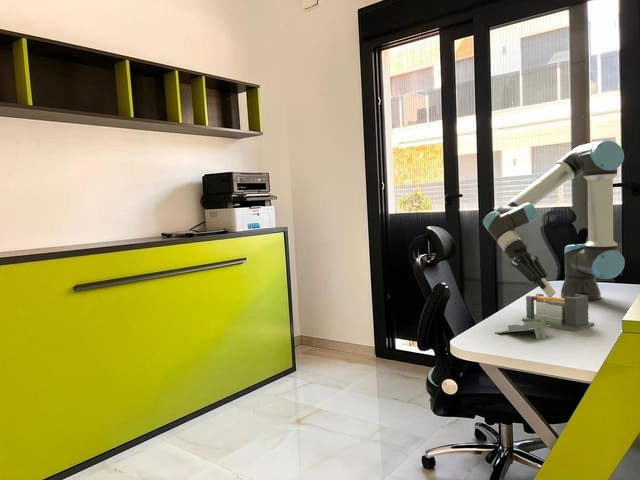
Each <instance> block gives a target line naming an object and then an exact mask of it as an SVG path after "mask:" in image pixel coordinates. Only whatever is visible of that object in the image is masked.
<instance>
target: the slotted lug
mask: <svg viewBox="0 0 640 480" xmlns="http://www.w3.org/2000/svg"><path fill="white" fill-rule="evenodd" d="M564 306H565V325H567V326H572V327H579V326H583V325H586V324H588V322H589V300H588V296H586V295H579V294H575V295H574V297H568V296H566V297H564Z"/></svg>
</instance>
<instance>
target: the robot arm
mask: <svg viewBox="0 0 640 480" xmlns="http://www.w3.org/2000/svg"><path fill="white" fill-rule="evenodd" d="M624 160H625V153H624V150H623V148H622V147H621V146H620V145H619V144H618V143H617V142H615V141H613V140H609V139H608V140H607V139H606V140H598V141H594V142H590V143H589V142H588V143H583V144H581V145H578V146H576V147H575V148H573V149H572V150H571V151H570V152H568V153H566V154H565V155H564V156H563V157H561V158H560V159H558V160H557V162H555V166H554V167H552V168H551V169H550V170H549V171H547V172H546V173H545V174H543V175H542V176H541V177H540V178H538V179H537V180H535V181H533V182H532V184H530V185H529V186H528V187H526V188H525V189H523V190H522V191H521V192H520V193H519V194H517V195H516V196H515V197H513V198H512V199H511V200H510V201H508V202H507V203H505V204H504V205H500V206H498V207H496V208H495V209H494V211H491V212H489V213H488V214H487V215H485V217H484V218H483V220H482V225H483V226H484V228H485V229H486V230H487V232H488V233H489V234H490V235H491V236H492V238H493V239H494V240H495V241H496V243H497V244H498V245H499V247H500V248H501V249H502V250H503V252H504V253H505V255H506V256H507V257H508V258H509V259H510V260H512V261H511V262H510V265H512V266H513V267H515V268H516V269H517V270H518V271H519V272H520V273H521V274H522V275H523V276H524V277H525V278H526V279H527V281H529V282H531V283H532V284H533V285H536V284H537V285H538V287H539V288H540V289H541V290H542V291H543V293H544V294H545V295H546V297H554V295H555V294H556V293H557V292H556V291H555V289H554V288H553V286H552V285H551V284H550V283H549V281H548V280H547V277H548V274H547V272H546V270H545V268H544V267H543V265H542V263H541V262H540V259H539V257H538V256H537V255H535V256H533V255H532V254H531V253H530V252H528V251H527V249H528V247H527V245H526V243H524V241H523V240H521V238H520V236H519V235H518V234H517V233H516V232H515V230H517V229H519V228H521V227H523V226H525V225H528V224H531V223H532V222H534V221H535V220H536V219H538V212H537V209H536V207H535V205H537V204H538V203H539V202H541V201H543V199H544V198H546V197H547V196H548V195H550V194H551V193H552V192H553V191H555V190H556V189H558V188H559V187H560V186H562V185H563V184H564V183H565V182H567V181H571V180H573V179H575V178H576V177H579V176H580V175H582V178H584V179H585V180H586V181H587V219H588V220H587V222H588V224H587V227H588V229H587V232H588V234H587V236H588V238H587V239H588V240H587V241H586V242H585V243H581V244H580V243H579V244H568V245H566V246H565V247H564V282H563V284H562V287H561V290H560V298H564V297H566V296H568V297H574V295H575V294H579V295H586V296H588V301H596V300H600V299H602V298H601V297H602V294H601V291H600V290H601V289H600V288H599V285H598V282H597V280H596V279H600V280H603V279H604V280H612V279H614V278H616V277H618V276H619V274H621V273H623V272H622V271H624V268H625V263H626V262H625V258H624V256H623V255H622V253H621V252H619V247H618V246H619V245H618V243H617V242H616V241H615V240H614V191H613V190H614V188H613V186H614V178H615V177H617V175H618V168H620V166H621V165H622V164H623V162H624Z"/></svg>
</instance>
